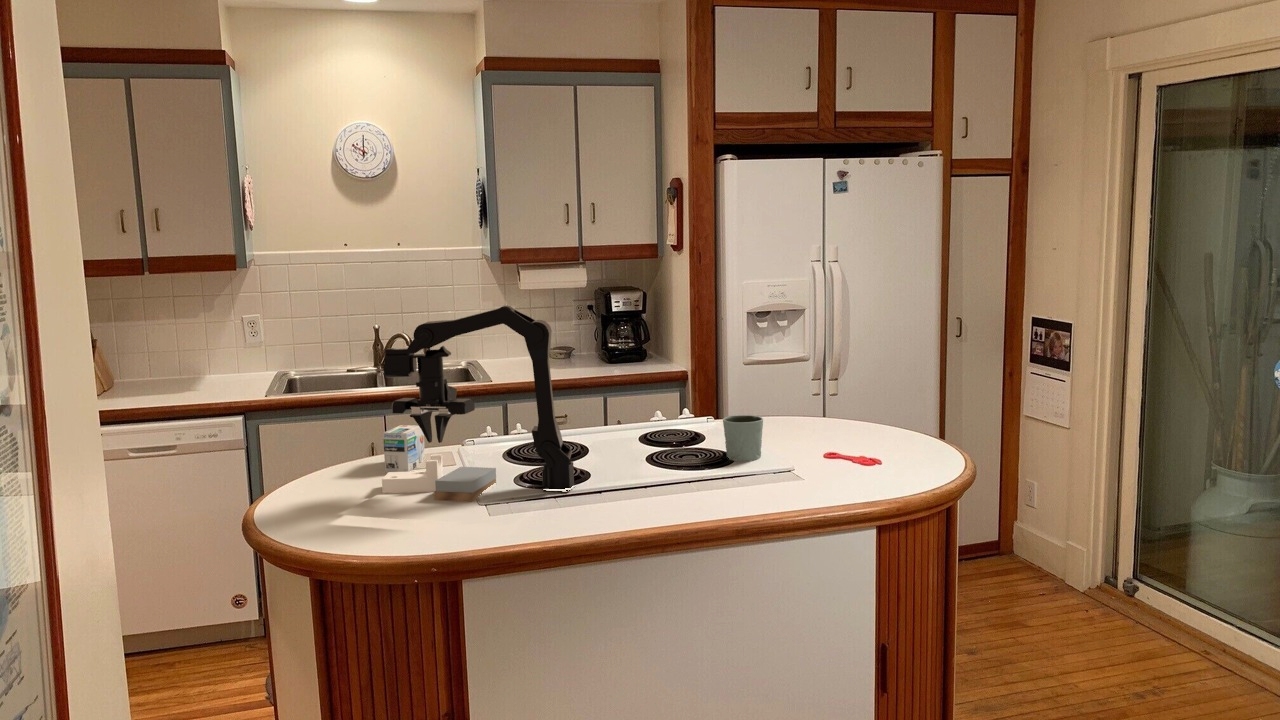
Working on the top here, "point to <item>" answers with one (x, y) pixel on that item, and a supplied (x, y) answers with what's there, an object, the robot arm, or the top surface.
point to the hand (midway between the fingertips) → (435, 442)
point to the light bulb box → (403, 448)
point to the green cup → (743, 437)
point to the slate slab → (465, 479)
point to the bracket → (415, 478)
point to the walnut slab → (461, 494)
